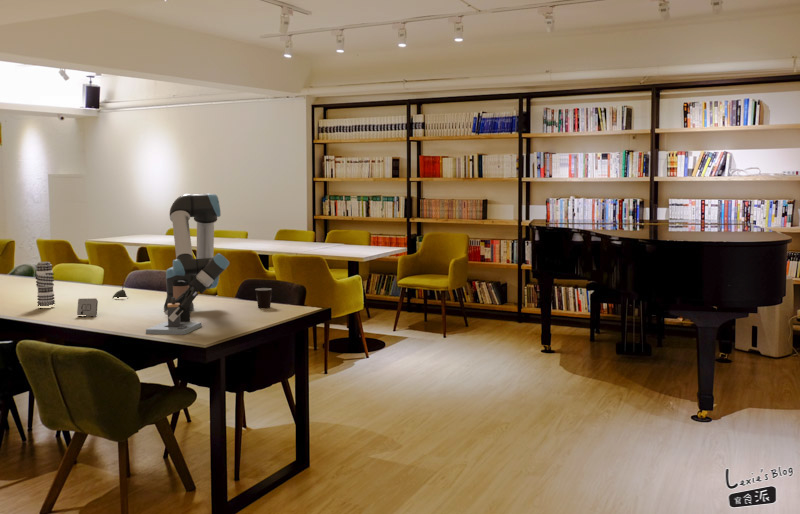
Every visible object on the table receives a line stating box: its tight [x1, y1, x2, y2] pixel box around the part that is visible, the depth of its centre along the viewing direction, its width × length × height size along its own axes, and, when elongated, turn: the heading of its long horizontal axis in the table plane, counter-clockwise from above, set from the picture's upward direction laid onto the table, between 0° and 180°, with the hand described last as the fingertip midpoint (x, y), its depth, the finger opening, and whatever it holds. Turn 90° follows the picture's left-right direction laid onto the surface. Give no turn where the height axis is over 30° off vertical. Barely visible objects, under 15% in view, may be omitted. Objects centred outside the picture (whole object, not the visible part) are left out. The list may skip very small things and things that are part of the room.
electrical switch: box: [76, 297, 99, 317], centre depth 359 cm, size 9×5×9 cm, turn 90°
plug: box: [167, 297, 180, 327], centre depth 320 cm, size 5×5×15 cm
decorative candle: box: [34, 261, 56, 307], centre depth 385 cm, size 9×9×25 cm
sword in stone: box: [112, 278, 128, 298], centre depth 417 cm, size 10×8×12 cm
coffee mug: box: [255, 287, 273, 309], centre depth 380 cm, size 12×9×10 cm
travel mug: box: [173, 279, 191, 322], centre depth 341 cm, size 8×8×20 cm
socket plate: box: [145, 321, 202, 336], centre depth 321 cm, size 18×18×3 cm
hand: (168, 317), depth 319 cm, fingers open, 13 cm apart
